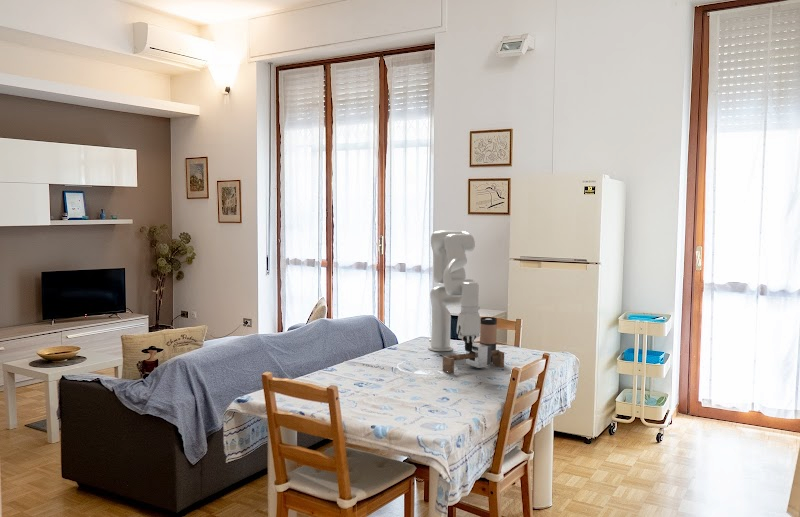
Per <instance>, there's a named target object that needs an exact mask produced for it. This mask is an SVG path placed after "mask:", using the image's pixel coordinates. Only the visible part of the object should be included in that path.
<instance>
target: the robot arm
mask: <svg viewBox="0 0 800 517" xmlns="http://www.w3.org/2000/svg"><path fill="white" fill-rule="evenodd" d="M430 246H431V249H432V253H433V280H434V282H435V283H436V284H440V285H441V284H443V286H442V285H441V286H435V287H433V288H432V289H431V290H430V294H429V296H430V304H431V332H430V333H431V338H430V339H428V342H429V343H430V344H429V345H428V346H427V349H428V350H430V351H433V352H450V351H453V350H454V347H453V345H451V324H452V323H451V321H452V316H451V311H450V310H449V309H448V308H447V306H448V307H449V306H460V312H459V313H458V316H457V323H456V334H457V335H458V336H457V338H458V339H460V340H462V341H463V342H464V350H465V352H466V351H468V352H470V351H472V345H473V343H475V340H476V339H478V338H480V330H481V316H480V312H479V310H481V307H480V306H479V296H480V295H479V292H480V291H479V289H480V286H479V283H478V281H477V282H476V281H475V280H474V279H470V278H469V279H467V277H466V270H465V266H466V264H467V263H468V258H467V254H466V252H473V251H474V249H475V247H476V241H475V238H474V236H473V235H472V234H471V233H469V232H467V231H465V230H437V231H433V233H432V234H431V237H430Z"/></svg>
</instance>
